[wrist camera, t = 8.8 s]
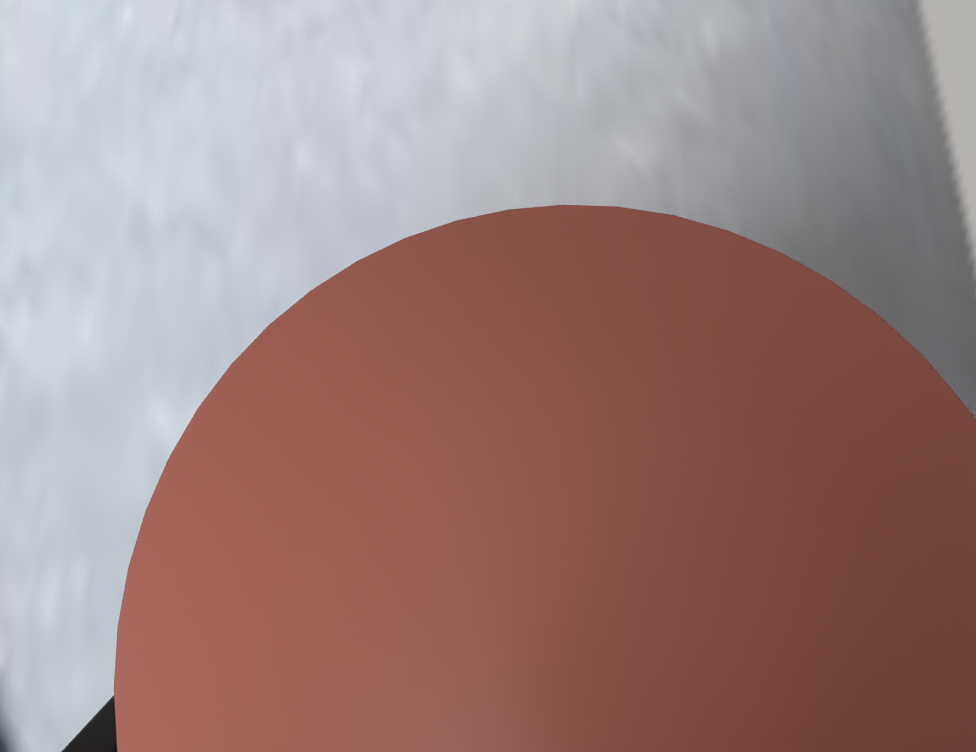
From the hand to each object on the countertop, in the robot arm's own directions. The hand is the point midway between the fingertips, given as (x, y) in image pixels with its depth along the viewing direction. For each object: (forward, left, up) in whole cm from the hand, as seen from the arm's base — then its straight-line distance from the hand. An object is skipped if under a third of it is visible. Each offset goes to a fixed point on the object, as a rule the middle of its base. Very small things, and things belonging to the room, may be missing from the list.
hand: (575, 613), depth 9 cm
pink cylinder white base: (0, 0, -7) cm, 7 cm away
